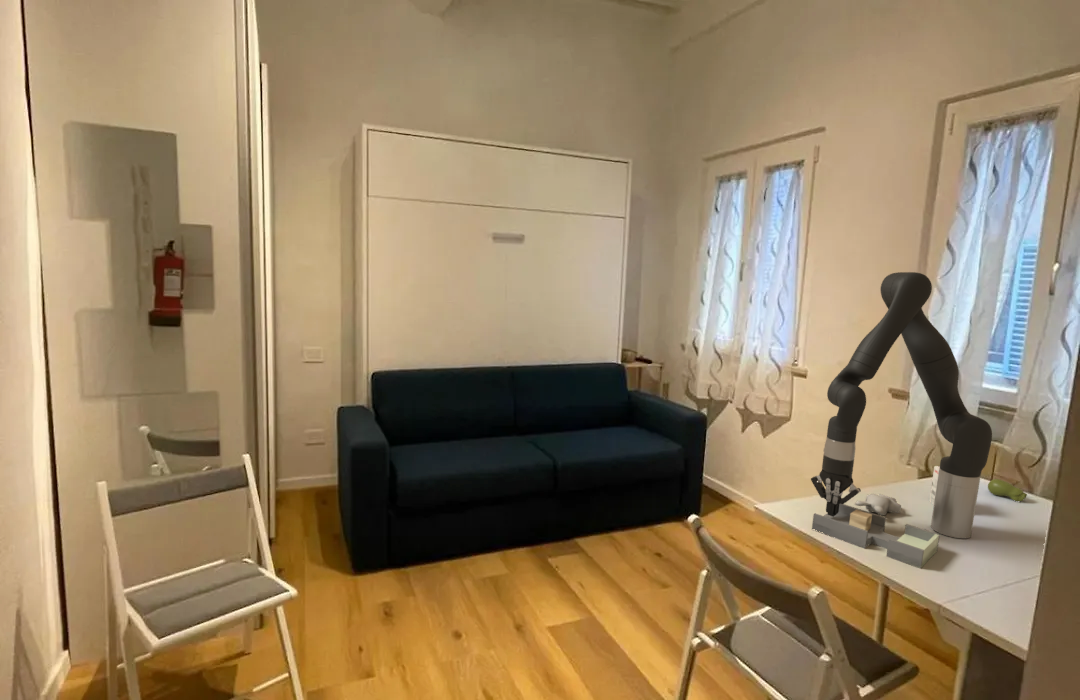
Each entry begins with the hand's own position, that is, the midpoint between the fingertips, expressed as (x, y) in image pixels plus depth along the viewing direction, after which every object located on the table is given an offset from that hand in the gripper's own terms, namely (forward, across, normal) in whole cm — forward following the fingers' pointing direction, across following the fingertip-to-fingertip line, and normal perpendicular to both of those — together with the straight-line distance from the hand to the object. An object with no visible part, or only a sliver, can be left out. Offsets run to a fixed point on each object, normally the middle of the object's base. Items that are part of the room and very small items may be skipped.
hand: (831, 514), depth 165 cm
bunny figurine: (+3, -5, -21) cm, 22 cm away
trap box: (+3, -11, 0) cm, 11 cm away
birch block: (+1, -7, 0) cm, 7 cm away
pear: (+3, -28, -69) cm, 74 cm away
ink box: (+3, -17, -42) cm, 45 cm away
